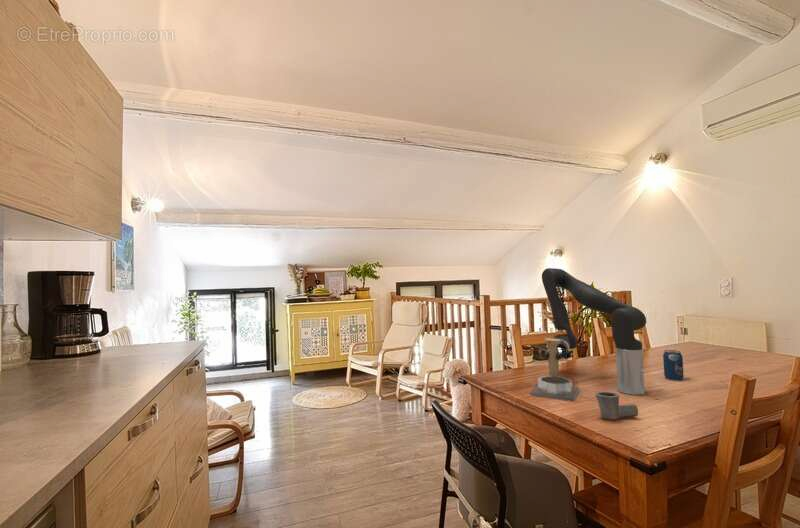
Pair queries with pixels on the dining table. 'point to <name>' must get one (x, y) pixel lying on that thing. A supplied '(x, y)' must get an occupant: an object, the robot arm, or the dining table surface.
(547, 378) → the duct collar
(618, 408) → the pipe
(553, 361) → the grey upright column
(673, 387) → the dining table surface
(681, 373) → the soda can
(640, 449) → the dining table surface
